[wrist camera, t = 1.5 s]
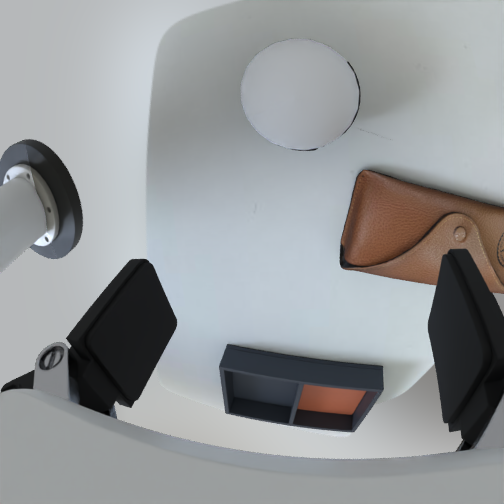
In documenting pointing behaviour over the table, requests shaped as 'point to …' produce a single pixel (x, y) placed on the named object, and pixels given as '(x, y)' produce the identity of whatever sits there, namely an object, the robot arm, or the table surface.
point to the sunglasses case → (418, 231)
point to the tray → (298, 389)
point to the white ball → (300, 94)
